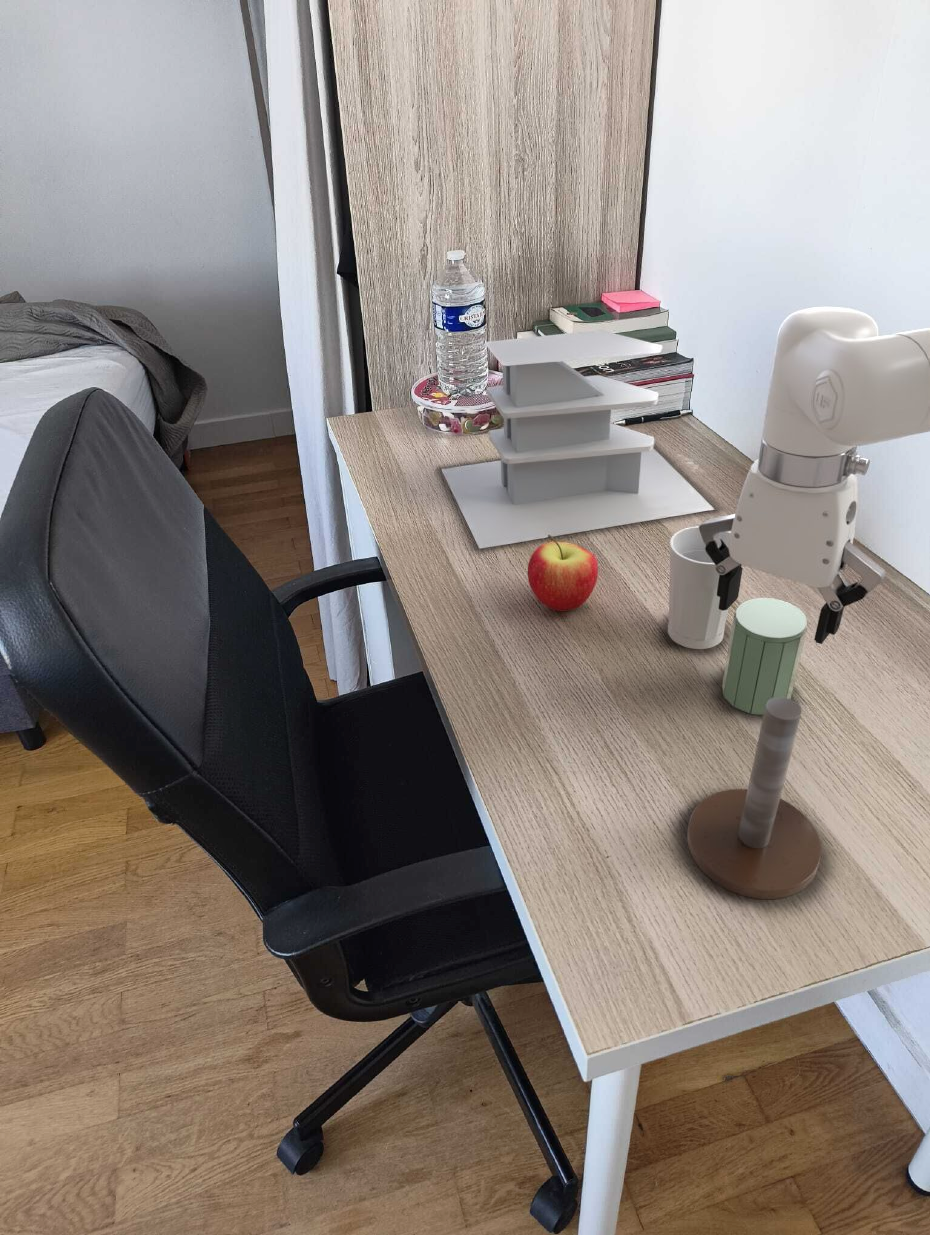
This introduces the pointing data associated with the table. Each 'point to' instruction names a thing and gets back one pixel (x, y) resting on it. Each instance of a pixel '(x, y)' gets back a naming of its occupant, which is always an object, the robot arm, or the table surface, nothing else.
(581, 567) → the apple
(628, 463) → the file organizer
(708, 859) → the towel stand
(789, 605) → the green cup
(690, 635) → the cup
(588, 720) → the table surface
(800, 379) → the robot arm
